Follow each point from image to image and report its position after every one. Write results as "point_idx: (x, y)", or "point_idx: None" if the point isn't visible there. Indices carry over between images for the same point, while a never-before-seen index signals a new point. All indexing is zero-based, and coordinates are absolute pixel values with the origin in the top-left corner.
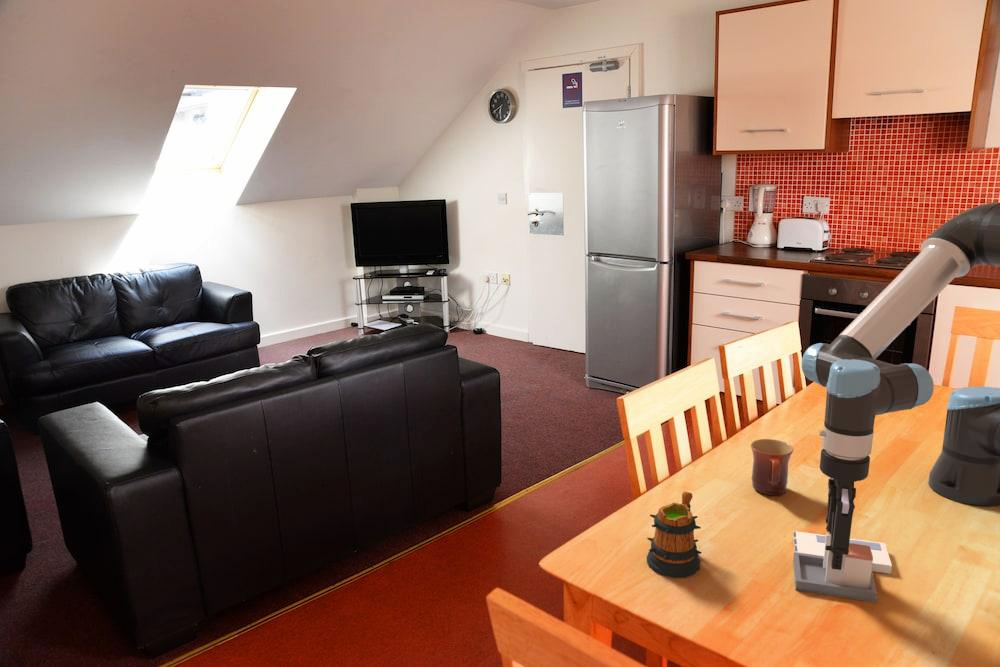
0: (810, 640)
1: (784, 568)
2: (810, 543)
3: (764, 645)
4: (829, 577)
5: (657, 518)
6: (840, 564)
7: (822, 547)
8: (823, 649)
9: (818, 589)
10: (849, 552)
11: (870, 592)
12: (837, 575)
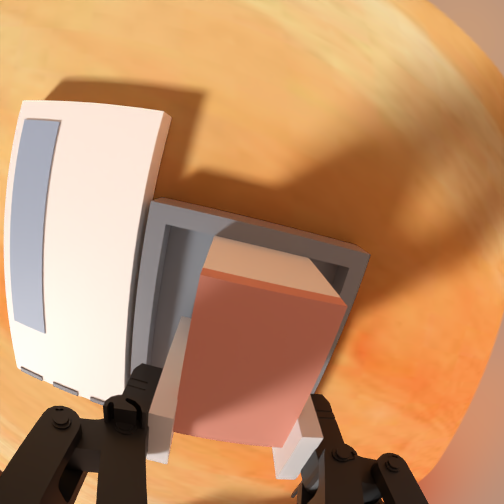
0: (439, 410)
1: None
2: (60, 355)
3: (424, 456)
4: None
5: None
6: (331, 416)
7: (72, 331)
8: (462, 393)
9: None
10: (285, 400)
11: (361, 275)
12: None
